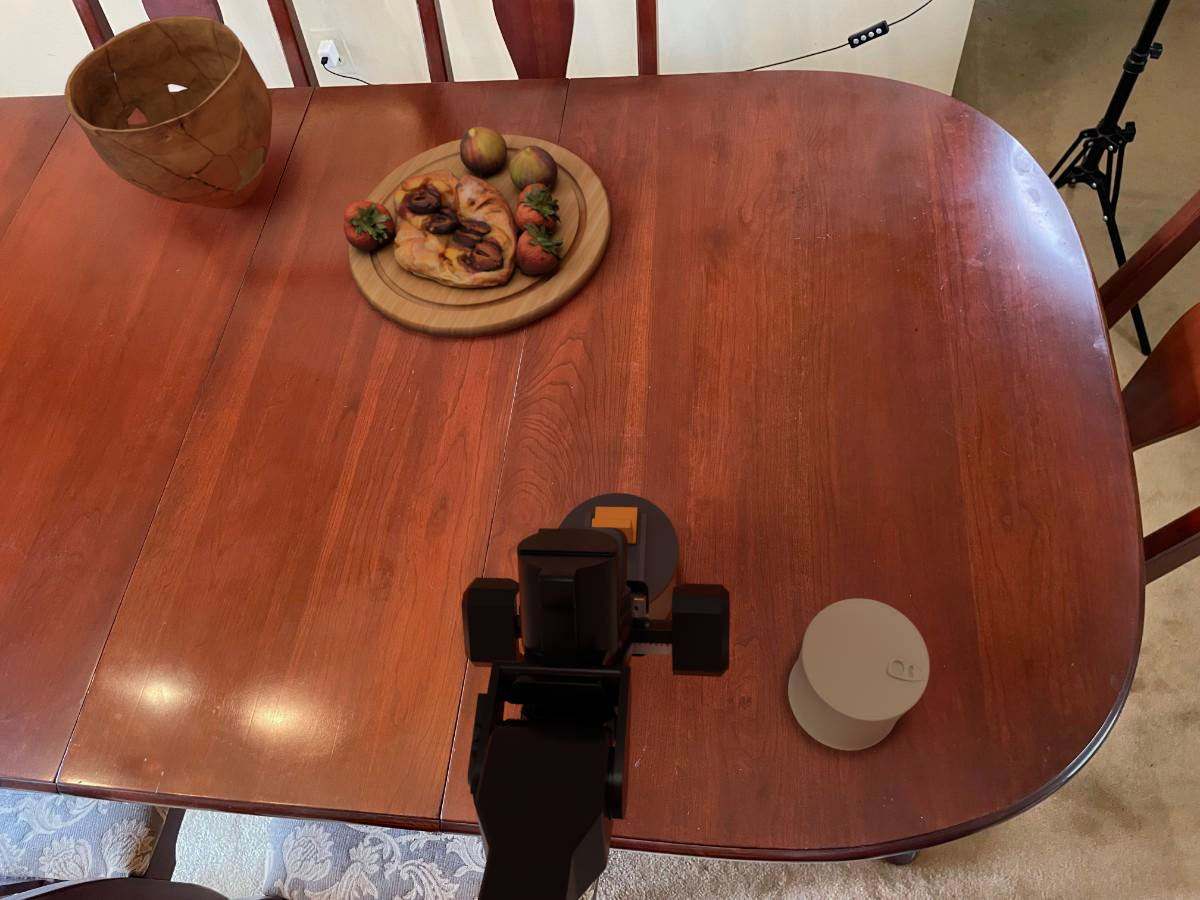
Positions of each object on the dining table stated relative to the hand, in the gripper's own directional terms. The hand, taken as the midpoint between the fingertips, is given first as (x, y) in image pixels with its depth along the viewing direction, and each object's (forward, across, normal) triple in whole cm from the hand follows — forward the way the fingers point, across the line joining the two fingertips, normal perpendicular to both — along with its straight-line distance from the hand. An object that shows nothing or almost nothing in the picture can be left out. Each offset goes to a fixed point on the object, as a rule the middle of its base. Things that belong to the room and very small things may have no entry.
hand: (609, 578), depth 68 cm
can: (+4, -19, +12) cm, 23 cm away
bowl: (+47, +54, -31) cm, 78 cm away
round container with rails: (+10, 0, +5) cm, 11 cm away
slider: (+5, 0, -3) cm, 6 cm away
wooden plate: (+41, +20, -26) cm, 53 cm away
